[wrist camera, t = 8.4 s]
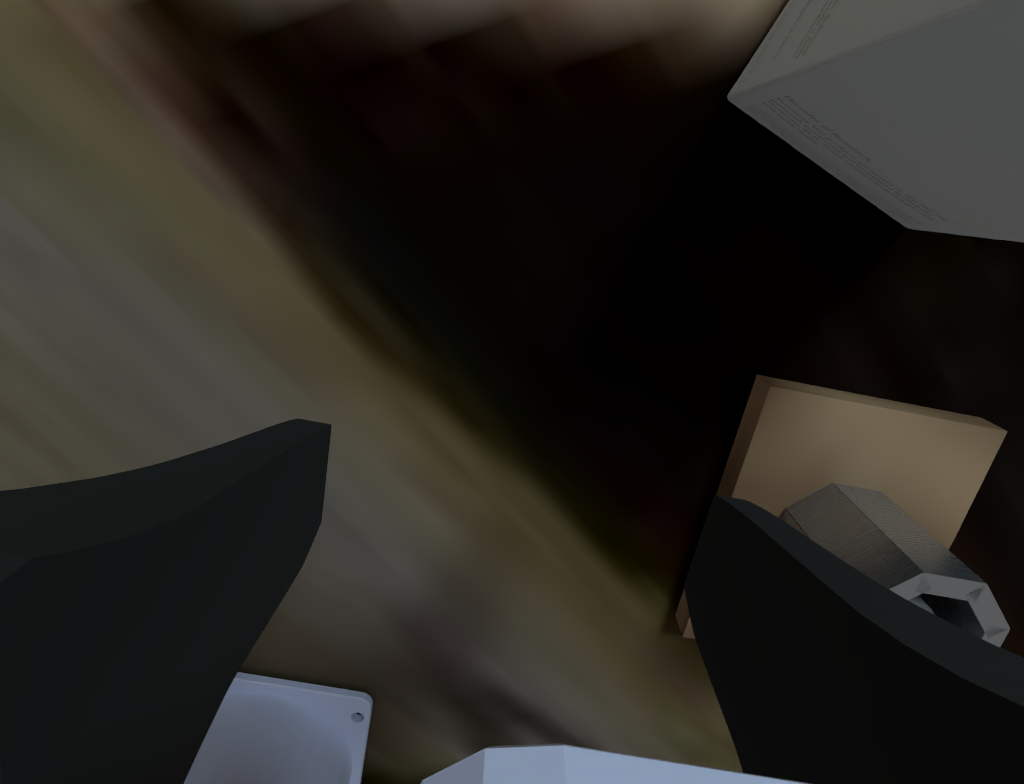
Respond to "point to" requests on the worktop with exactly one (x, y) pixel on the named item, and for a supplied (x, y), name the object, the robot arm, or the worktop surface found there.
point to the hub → (898, 555)
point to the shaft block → (856, 456)
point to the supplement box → (903, 105)
